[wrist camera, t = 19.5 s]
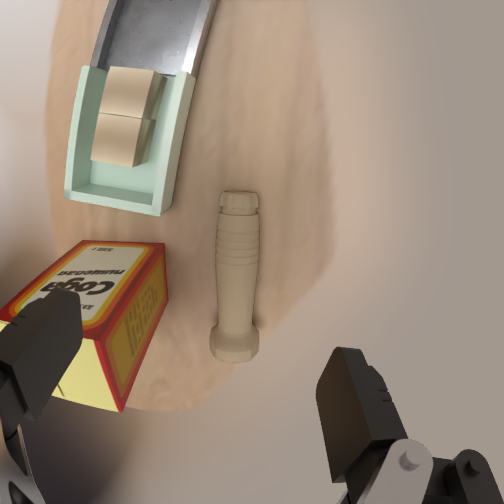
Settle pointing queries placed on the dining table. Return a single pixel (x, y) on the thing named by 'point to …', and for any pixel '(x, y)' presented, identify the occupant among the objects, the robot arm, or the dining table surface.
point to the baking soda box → (105, 315)
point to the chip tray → (121, 177)
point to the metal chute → (154, 35)
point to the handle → (236, 278)
